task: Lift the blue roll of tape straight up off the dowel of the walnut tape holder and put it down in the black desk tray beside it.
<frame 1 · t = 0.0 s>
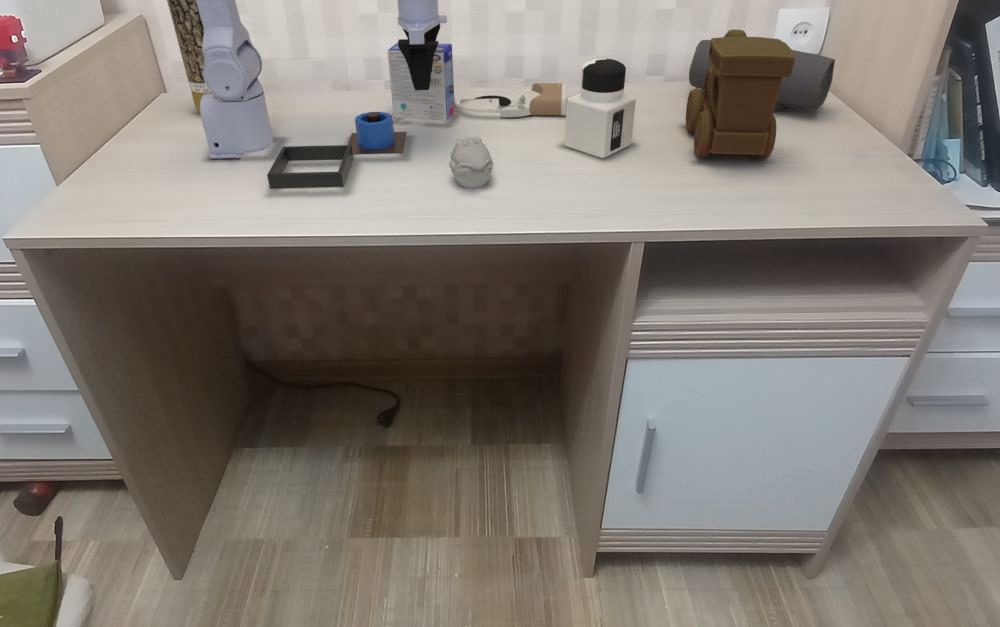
hand: (423, 81, 107), 10 cm above the table, tool pointing down, fingers open, 7 cm apart
bluetooth speaker: (753, 104, 127), on the table
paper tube: (216, 110, 127), on the table
container: (597, 147, 112), on the table
wooden toy train: (724, 146, 111), on the table
tape holder: (377, 148, 111), on the table
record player: (510, 108, 127), on the table
ink cartridge box: (425, 119, 122), on the table
frog figurine: (472, 188, 100), on the table
desk tray: (314, 178, 102), on the table
tape roll: (376, 142, 111), point 1 cm above the table, touching tape holder
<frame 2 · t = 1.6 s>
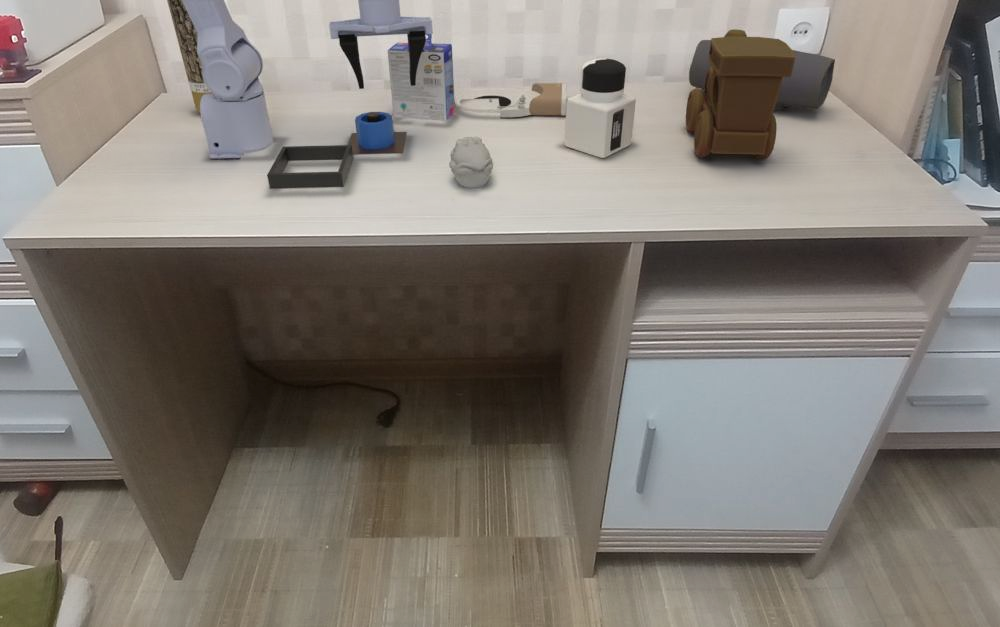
hand: (387, 85, 106), 10 cm above the table, tool pointing down, fingers open, 7 cm apart
nothing on the table moved.
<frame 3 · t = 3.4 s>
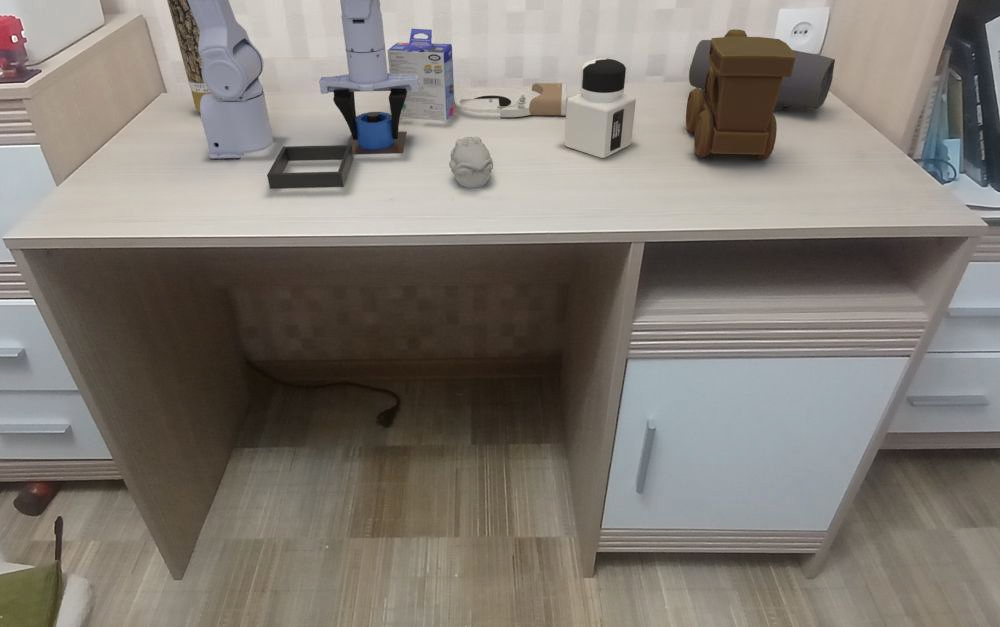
hand: (375, 137, 110), 2 cm above the table, tool pointing down, fingers closed on tape roll, 5 cm apart
tape roll: (376, 142, 111), point 1 cm above the table, touching gripper, tape holder
everything else where it was.
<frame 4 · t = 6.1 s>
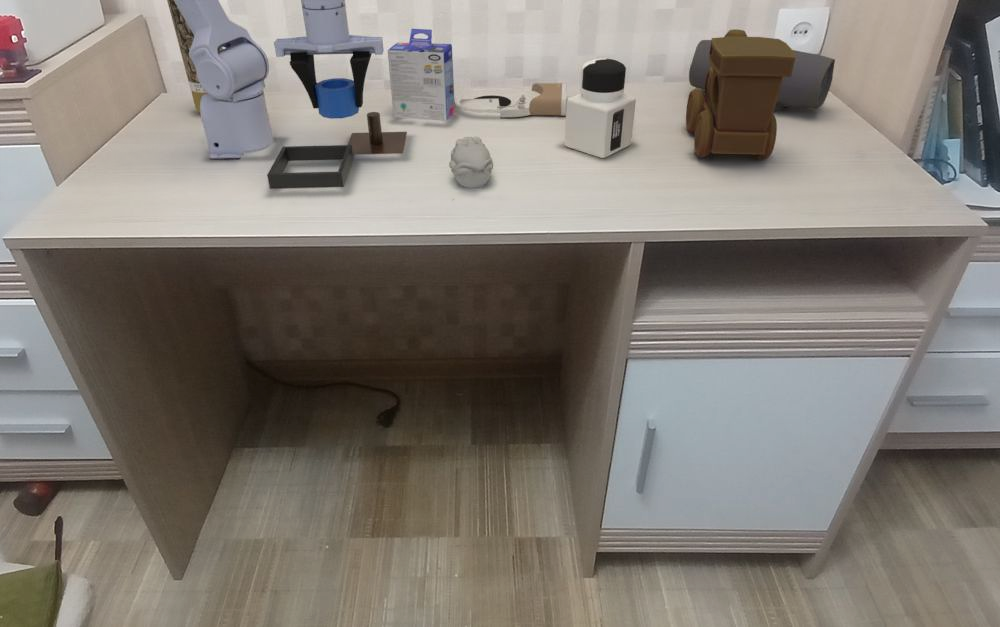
hand: (338, 105, 102), 9 cm above the table, tool pointing down, fingers closed on tape roll, 5 cm apart
tape roll: (339, 111, 102), point 8 cm above the table, touching gripper
everything else where it was.
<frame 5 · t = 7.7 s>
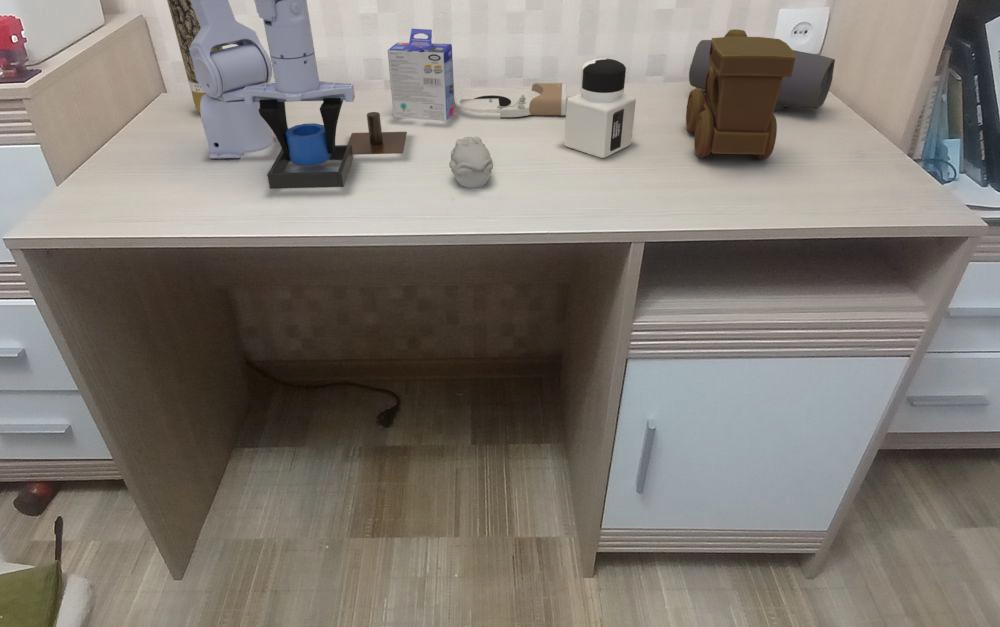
hand: (309, 151, 100), 4 cm above the table, tool pointing down, fingers closed on tape roll, 5 cm apart
tape roll: (311, 157, 100), point 3 cm above the table, touching gripper
everything else where it was.
when the fingers open (2 cm above the table, at t = 9.3 s): tape roll stays where it is, resting on desk tray.
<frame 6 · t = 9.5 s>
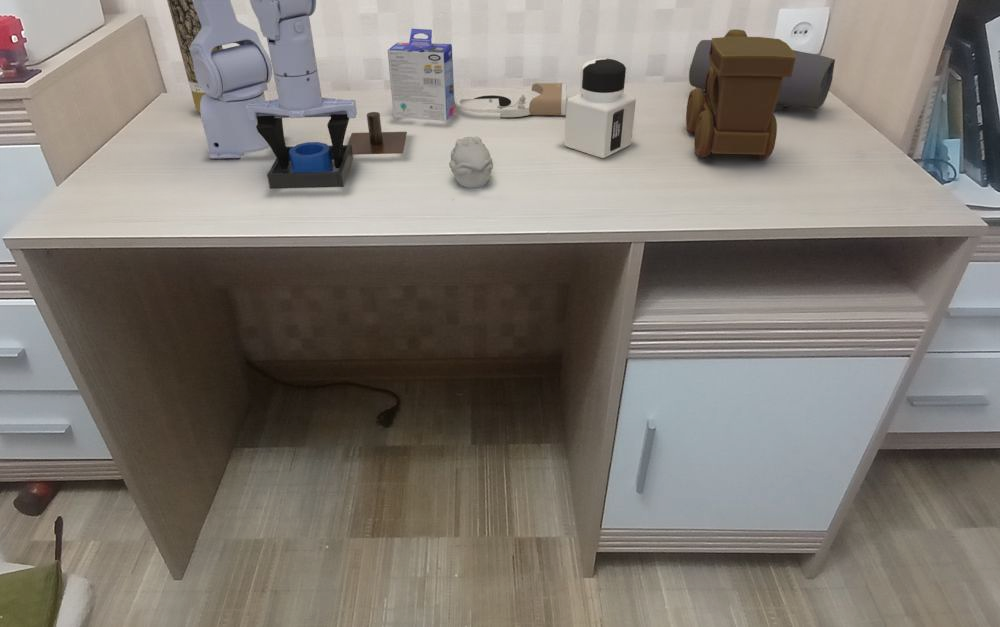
hand: (312, 166, 101), 2 cm above the table, tool pointing down, fingers open, 7 cm apart
tape roll: (313, 175, 102), resting on desk tray
everything else where it was.
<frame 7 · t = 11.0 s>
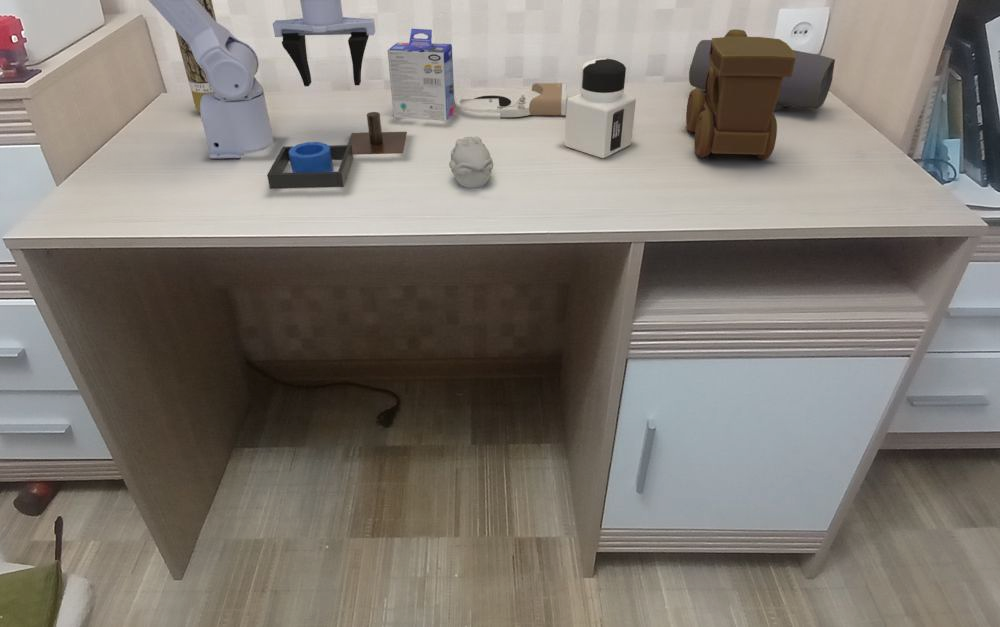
hand: (332, 83, 108), 9 cm above the table, tool pointing down, fingers open, 7 cm apart
nothing on the table moved.
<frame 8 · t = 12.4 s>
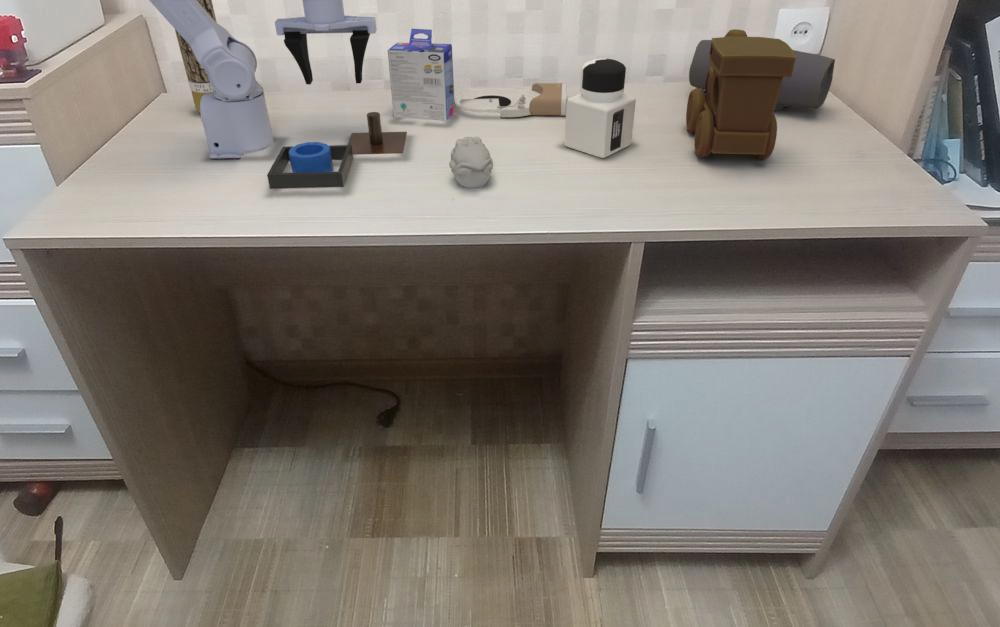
hand: (334, 82, 109), 9 cm above the table, tool pointing down, fingers open, 7 cm apart
nothing on the table moved.
at the end: tape roll 0.0 cm off-centre in the desk tray, point 0.5 cm above the desk tray's base; tape roll tilted 0°; the gripper is holding nothing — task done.
